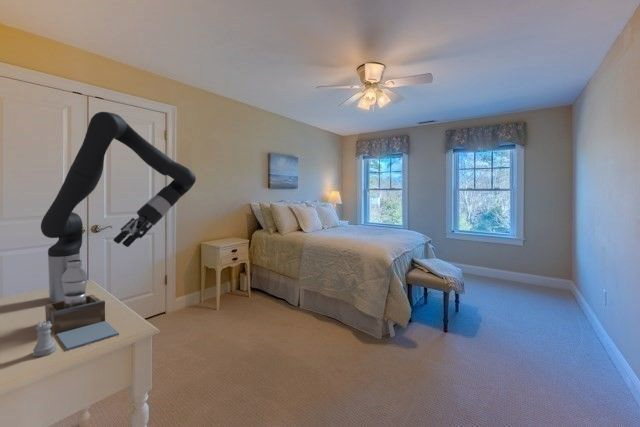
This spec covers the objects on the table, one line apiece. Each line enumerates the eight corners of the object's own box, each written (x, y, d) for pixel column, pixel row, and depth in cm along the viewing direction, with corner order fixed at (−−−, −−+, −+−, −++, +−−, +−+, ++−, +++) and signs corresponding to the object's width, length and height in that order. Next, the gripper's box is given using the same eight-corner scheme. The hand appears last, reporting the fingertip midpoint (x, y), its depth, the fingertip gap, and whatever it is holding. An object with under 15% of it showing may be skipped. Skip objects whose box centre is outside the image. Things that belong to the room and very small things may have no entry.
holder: (45, 322, 95) (45, 301, 94) (93, 311, 105) (92, 292, 104) (55, 335, 87) (54, 312, 87) (105, 321, 97) (105, 301, 96)
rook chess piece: (29, 358, 75) (28, 328, 75) (37, 349, 79) (36, 320, 79) (51, 355, 77) (51, 325, 77) (58, 347, 81) (58, 318, 81)
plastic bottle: (74, 327, 92) (72, 264, 91) (56, 325, 94) (54, 262, 92) (94, 319, 98) (92, 259, 97) (77, 316, 100) (75, 258, 98)
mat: (56, 335, 87) (56, 333, 87) (105, 322, 96) (105, 320, 96) (67, 350, 80) (67, 348, 80) (118, 334, 89) (118, 332, 89)
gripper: (139, 202, 114) (103, 234, 106) (155, 203, 105) (118, 239, 97) (153, 215, 118) (121, 247, 110) (170, 218, 109) (136, 253, 101)
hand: (120, 243), depth 103 cm, fingers open, 8 cm apart
